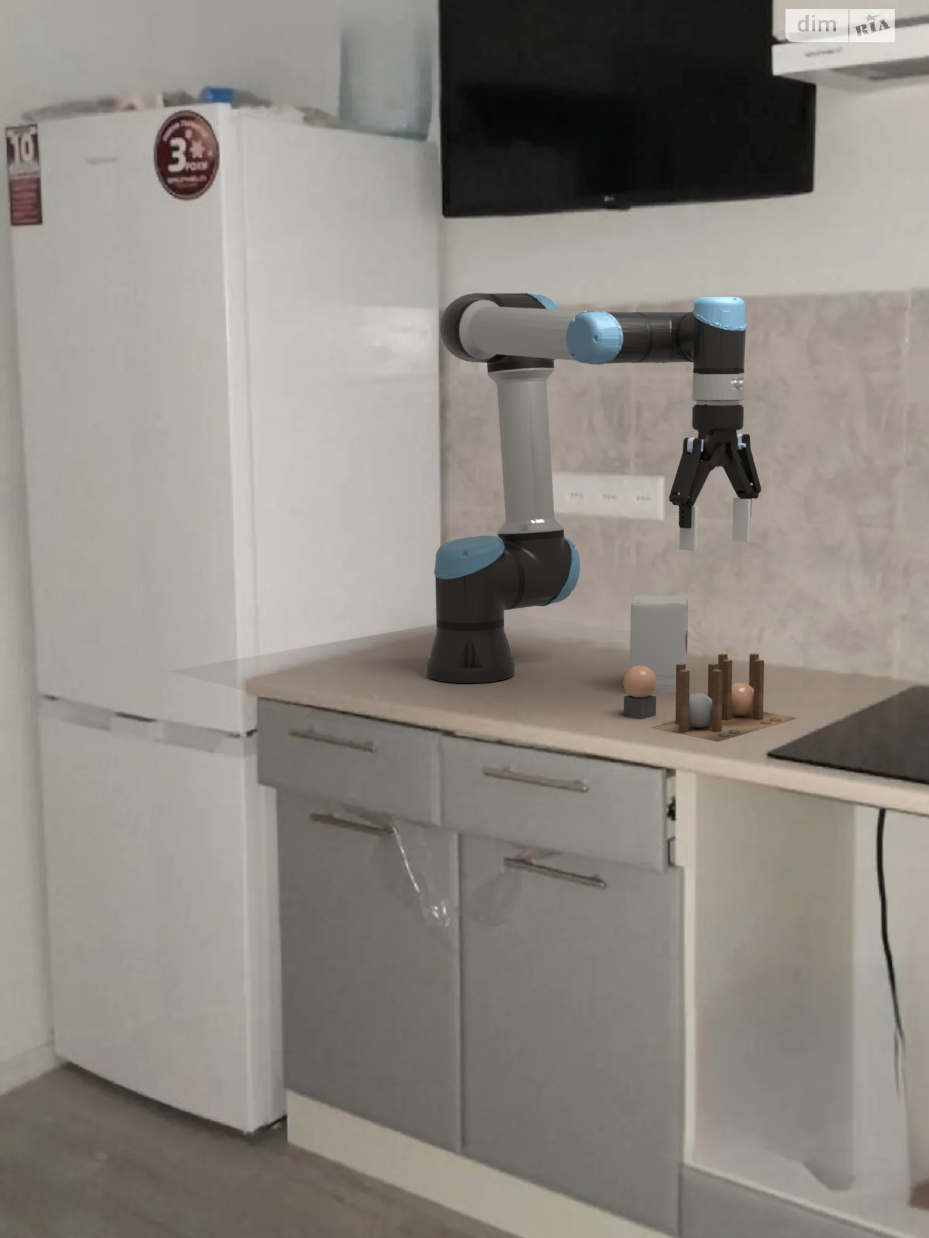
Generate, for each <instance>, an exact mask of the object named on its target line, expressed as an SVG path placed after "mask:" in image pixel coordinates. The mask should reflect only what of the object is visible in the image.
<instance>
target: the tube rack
mask: <svg viewBox="0 0 929 1238" xmlns="http://www.w3.org/2000/svg"><path fill="white" fill-rule="evenodd" d="M748 656H749V660H748V661H749V663H748V664H749V665H748V666H749V668H748V670H749V671H748V685H750V686H751V687H752V688H753V689H754V710H753V711H752V712H751V713H750V714H748V715H745V716H736V715H733V714H731V707H732V684H733V660H732V659H729V657H728V653H718V655H717V659H718V660H717V663H716V662H715V663H714V662H711V663H708V665H707V667H708V668H707V696H708V697H710V698H711V699H712V722H711V723H710V724H709V725H708V726H706V727H703V728H695V727H692V726H690V725H689V696H690V678H691V677H690V670H688V669H687V670H686V664H682V663H679V664H676V692H675V720H673V721H670V722H665V723H662V724H659V725H655V726H652V727H651V728H653V729H656V730H661V731H666V732H670V733H676V734H679V735H680V734H681V735H685V736H690V737H693V738H699V739H704V740H708V741H714V742H717V743H718V742H722V741H726V740H729V739H732V738H736V737H739V736H742V735H747V734H748V733H749V734H750V733H753V732H756V731H759V730H762V729H766V728H769V727H772V726H776V725H779V724H782V723H786V722H789V721H793V720H796V719H798V718H797V717H792V716H787V715H784V714H783V715H782V714H777V713H772V712H767V711H764V691H765V690H764V688H765V687H764V685H765V683H764V681H765V673H764V672H765V659H760V654H759V653H755V652H753V653H749V655H748Z"/></svg>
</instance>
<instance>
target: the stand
mask: <svg viewBox="0 0 929 1238" xmlns="http://www.w3.org/2000/svg"><path fill="white" fill-rule="evenodd" d="M623 716H624V717H627V718H628V717H629V718H633V719H637V720H644V719H648V718H652V717H656V716H657V696H655V695H652V694H651V695H650V696H649V697H647V698H643V699H638V698H633V697H632V696H630V695H629V694H628V695H626V696H625V695H624V696H623Z"/></svg>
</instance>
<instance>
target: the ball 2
mask: <svg viewBox="0 0 929 1238" xmlns="http://www.w3.org/2000/svg"><path fill="white" fill-rule="evenodd" d="M753 710H754V689H753V688H752V687H751V686H750V685H749V683H744V682H736V683H732V707H731V714H733V715H736V716H745V715H748V714H750V713H751V712H752V711H753Z"/></svg>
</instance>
